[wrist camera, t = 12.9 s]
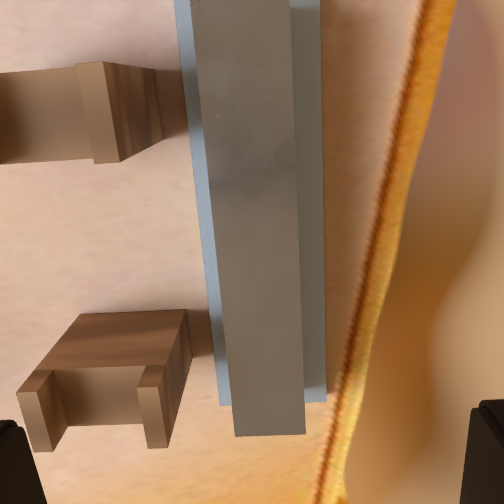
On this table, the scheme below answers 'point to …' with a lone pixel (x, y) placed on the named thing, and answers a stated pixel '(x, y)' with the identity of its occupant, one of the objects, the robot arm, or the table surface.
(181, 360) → the post far
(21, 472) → the robot arm
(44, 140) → the post near
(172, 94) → the table surface
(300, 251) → the grey board
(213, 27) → the rail
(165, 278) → the table surface
